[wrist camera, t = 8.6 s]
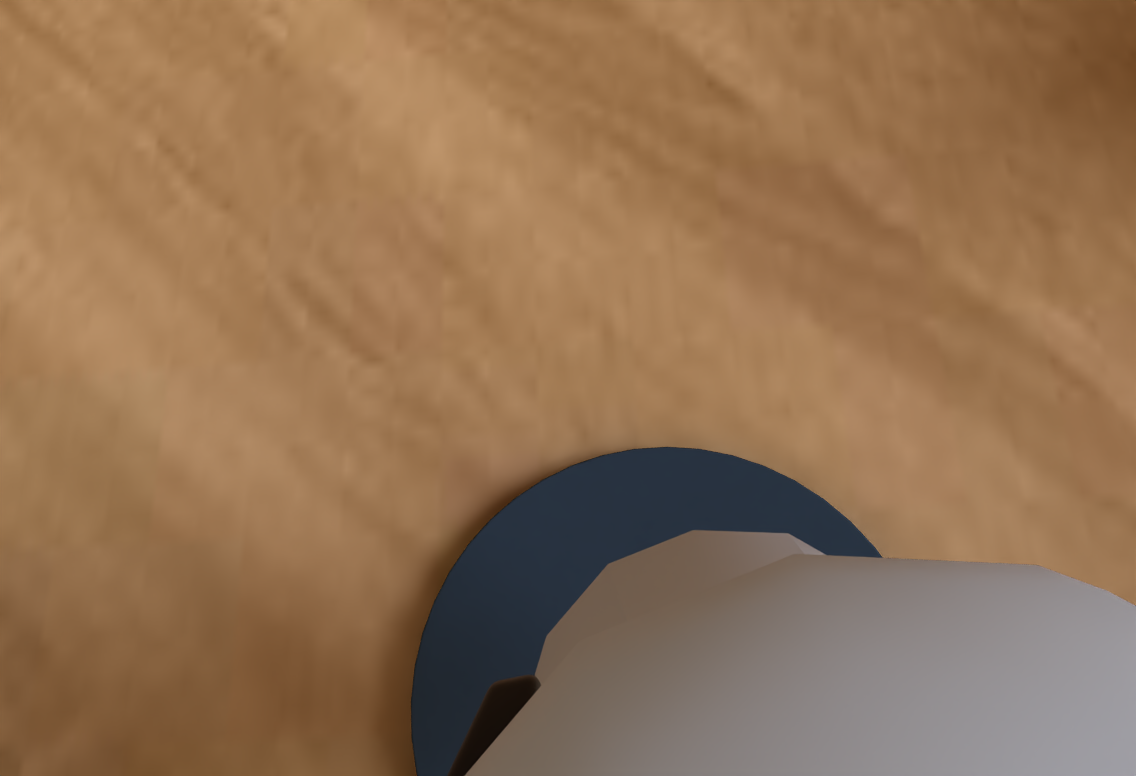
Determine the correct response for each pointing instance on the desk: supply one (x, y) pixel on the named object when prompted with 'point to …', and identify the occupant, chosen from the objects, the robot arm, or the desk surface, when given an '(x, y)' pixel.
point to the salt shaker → (827, 669)
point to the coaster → (584, 565)
